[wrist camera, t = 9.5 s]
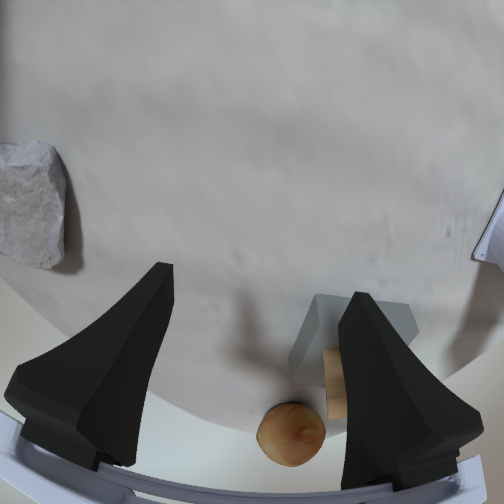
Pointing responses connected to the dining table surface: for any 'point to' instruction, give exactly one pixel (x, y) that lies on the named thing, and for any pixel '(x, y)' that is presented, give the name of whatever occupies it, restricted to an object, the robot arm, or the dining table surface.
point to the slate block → (335, 335)
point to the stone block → (32, 204)
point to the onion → (291, 434)
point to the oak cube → (334, 384)
